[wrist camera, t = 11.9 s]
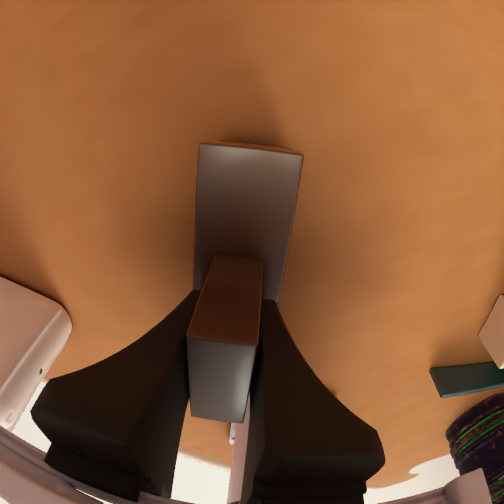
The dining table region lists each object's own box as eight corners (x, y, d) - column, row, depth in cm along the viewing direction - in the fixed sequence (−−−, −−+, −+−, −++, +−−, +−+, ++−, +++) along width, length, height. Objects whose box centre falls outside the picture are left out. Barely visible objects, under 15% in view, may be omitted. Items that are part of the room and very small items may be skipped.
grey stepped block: (261, 348, 18) (254, 465, 10) (205, 340, 18) (176, 454, 11) (295, 144, 12) (331, 186, 5) (216, 135, 12) (144, 166, 5)
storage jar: (508, 405, 24) (540, 484, 10) (452, 443, 27) (475, 524, 14) (504, 382, 21) (548, 480, 8) (436, 429, 24) (464, 531, 11)
